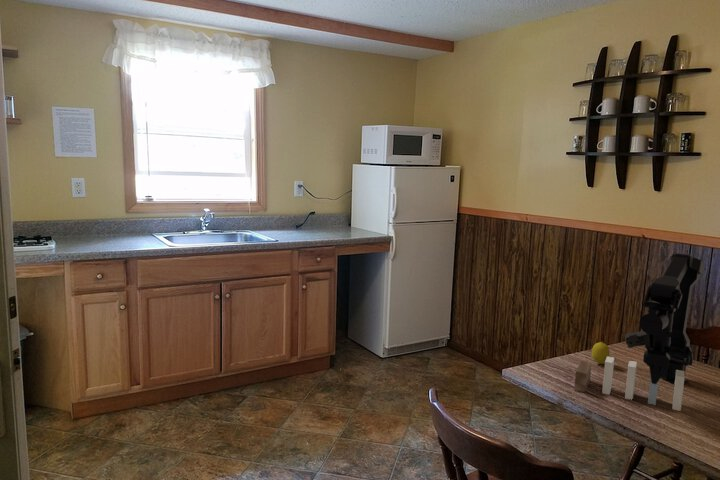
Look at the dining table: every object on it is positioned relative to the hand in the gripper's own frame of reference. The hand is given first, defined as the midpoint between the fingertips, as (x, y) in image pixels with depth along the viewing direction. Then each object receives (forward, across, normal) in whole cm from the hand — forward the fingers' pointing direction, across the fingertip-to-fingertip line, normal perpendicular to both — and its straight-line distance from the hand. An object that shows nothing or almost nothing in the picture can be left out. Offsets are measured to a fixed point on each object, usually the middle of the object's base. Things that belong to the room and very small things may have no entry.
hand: (654, 378), depth 148 cm
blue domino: (+7, 0, 0) cm, 7 cm away
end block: (+7, 0, -19) cm, 20 cm away
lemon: (+7, -22, -17) cm, 29 cm away
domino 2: (+7, 0, -6) cm, 9 cm away
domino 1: (+7, 0, -12) cm, 14 cm away
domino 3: (+7, 0, +6) cm, 9 cm away
